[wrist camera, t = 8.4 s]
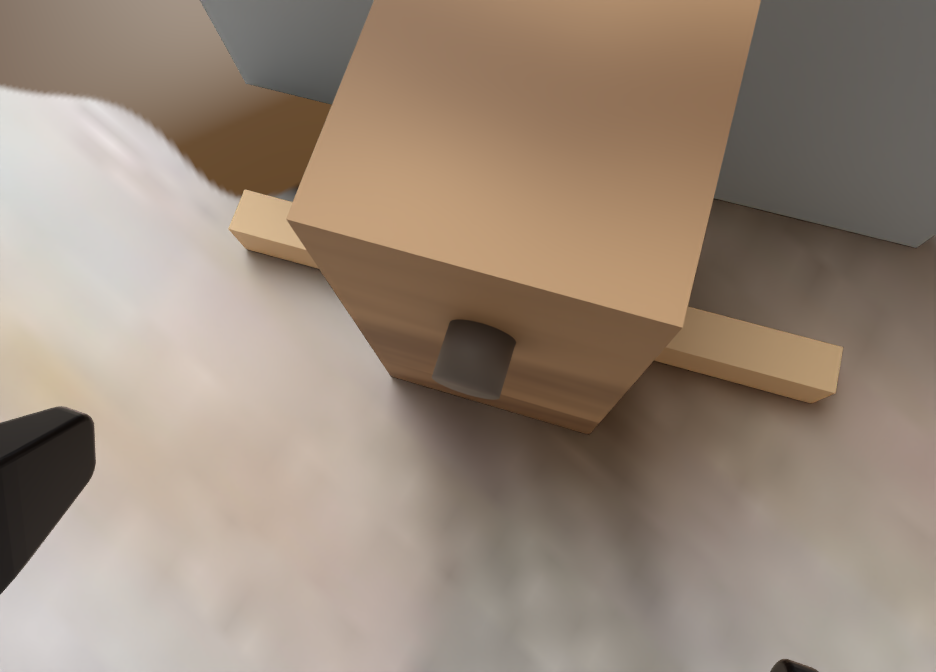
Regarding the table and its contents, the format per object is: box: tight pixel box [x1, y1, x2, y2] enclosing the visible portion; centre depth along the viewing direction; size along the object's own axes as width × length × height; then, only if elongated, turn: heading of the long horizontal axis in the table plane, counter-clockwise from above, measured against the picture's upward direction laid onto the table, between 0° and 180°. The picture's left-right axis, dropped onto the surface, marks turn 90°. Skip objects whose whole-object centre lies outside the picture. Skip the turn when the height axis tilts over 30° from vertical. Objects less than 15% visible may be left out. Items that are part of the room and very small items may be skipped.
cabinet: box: [286, 0, 761, 435], centre depth 15 cm, size 7×6×10 cm
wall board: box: [200, 0, 936, 404], centre depth 16 cm, size 6×20×9 cm, turn 73°
